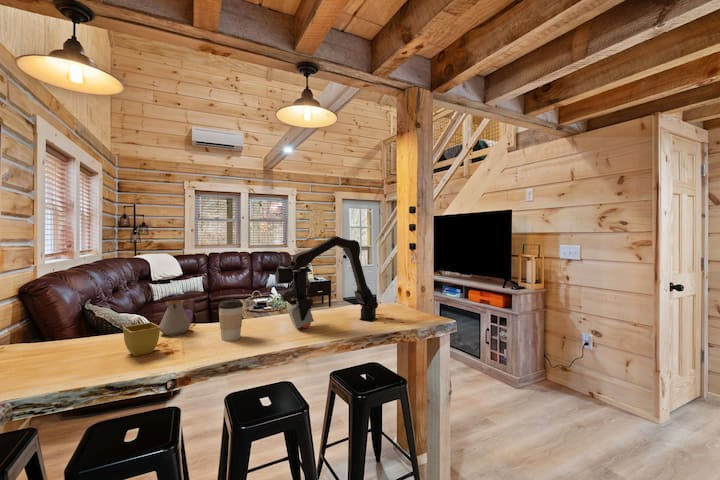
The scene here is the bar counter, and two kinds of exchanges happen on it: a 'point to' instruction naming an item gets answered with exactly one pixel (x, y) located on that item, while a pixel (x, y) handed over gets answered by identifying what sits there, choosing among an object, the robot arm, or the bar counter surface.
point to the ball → (306, 325)
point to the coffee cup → (230, 319)
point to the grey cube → (296, 318)
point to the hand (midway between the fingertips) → (300, 318)
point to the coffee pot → (174, 319)
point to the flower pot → (141, 338)
